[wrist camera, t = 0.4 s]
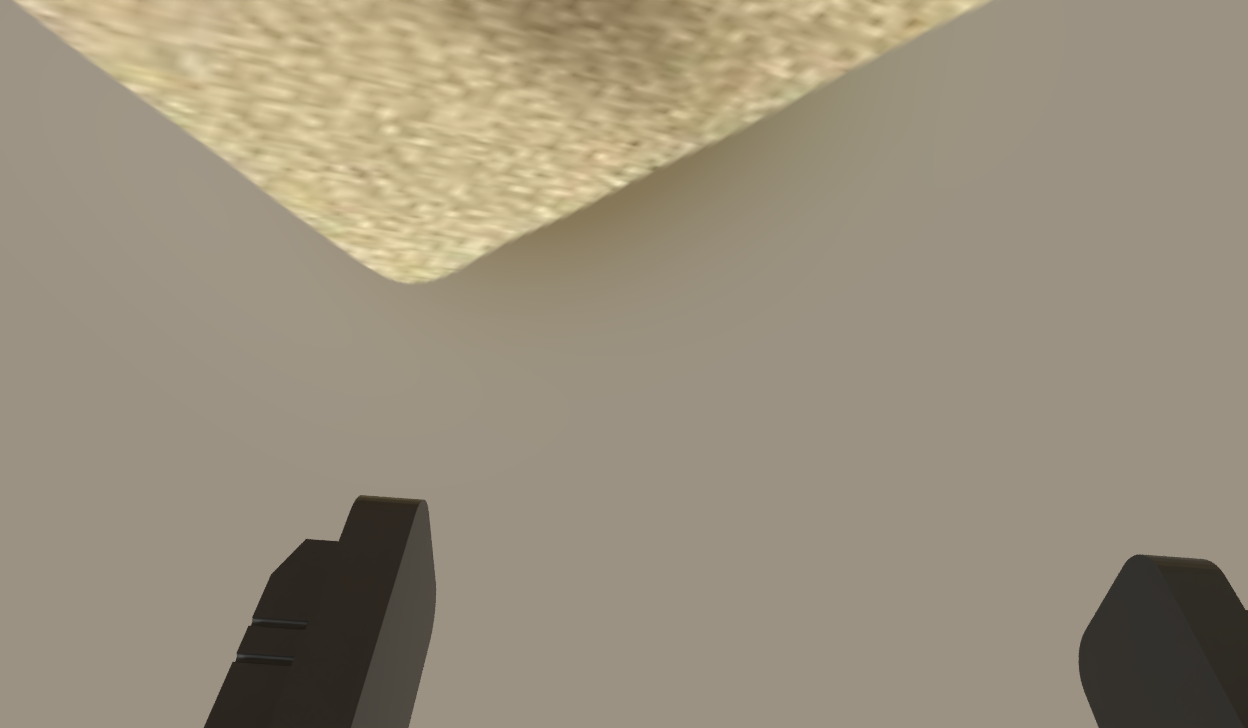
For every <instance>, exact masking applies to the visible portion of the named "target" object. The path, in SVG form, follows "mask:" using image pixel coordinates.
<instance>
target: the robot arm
mask: <svg viewBox="0 0 1248 728" xmlns="http://www.w3.org/2000/svg"><path fill="white" fill-rule="evenodd" d="M435 603H436V581H435V571H434V561H433V551H432V541H431V531H430V521H429V511H428V506H427V503H426V501H425V500H419V499H404V498H391V497H378V496H364V495H360V496H359V497H358V498H357V499H356V500H355V502H354V504H353V506H352V508H351V511H350V513H349V516H348V518H347V521H346V524H345V526H344V529H343V532H342V534H341V537H340V539H339V541H325V540H311V539H306V540H305V541H304V542H303V543H302V544H301V545H300V546H299V547H298V548H297V549H296V550H295V551H294V552H293V553H292V554H291V555H290V556H289V557H288V558H287V559H286V560H285V561H284V562H283V563H282V564H281V565H280V566H279V567H278V568H277V569H276V570H275V571H274V572H273V573H272V574H271V576H270V578H269V581H268V583H267V585H266V587H265V590H264V592H263V594H262V597H261V599H260V601H259V603H258V606H257V608H256V610H255V612H254V615H253V617H252V618H253V620H252V625H251V626H248V628H247V631H246V633H245V635H244V638H243V640H242V642H241V644H240V647H239V649H238V651H237V658H236V661H235V662H232V665H231V667H230V669H229V672H228V674H227V676H226V679H225V681H224V683H223V685H222V687H221V690H220V692H219V695H218V697H217V699H216V701H215V704H214V706H213V708H212V710H211V712H210V715H209V717H208V719H207V722H206V724H205V726H204V728H408V727H409V723H410V719H411V715H412V711H413V707H414V703H415V699H416V695H417V691H418V687H419V683H420V679H421V674H422V670H423V667H424V663H425V658H426V655H427V651H428V647H429V642H430V638H431V634H432V628H433V621H434V614H435ZM1079 672H1080V677H1081V682H1082V686H1083V689H1084V692H1085V694H1086V697H1087V699H1088V702H1089V704H1090V707H1091V709H1092V712H1093V714H1094V717H1095V719H1096V722H1097V724H1098V727H1099V728H1248V610H1245V608H1244V607H1243V605H1242V603H1241V602H1240V600H1239V598H1238V597H1237V595H1236V593H1235V592H1234V590H1233V588H1232V587H1231V585H1230V583H1229V582H1228V580H1227V579H1226V577H1225V575H1224V574H1223V572H1222V571H1221V570H1220V569H1219V568H1218V567H1217V565H1215V564H1214V563H1212V562H1211V561H1208V560H1204V559H1193V558H1181V557H1167V556H1153V555H1134V556H1133V557H1131V558H1130V559H1128V560H1127V562H1126V563H1125V565H1124V566H1123V567H1122V570H1121V571H1120V573H1119V574H1118V576H1117V578H1116V579H1115V581H1114V583H1113V584H1112V586H1111V588H1110V590H1109V591H1108V593H1107V595H1106V596H1105V598H1104V600H1103V602H1102V603H1101V605H1100V607H1099V608H1098V610H1097V612H1096V613H1095V615H1094V617H1093V618H1092V620H1091V622H1090V624H1089V625H1088V627H1087V629H1086V630H1085V632H1084V634H1083V637H1082V640H1081V643H1080V648H1079Z"/></svg>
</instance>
